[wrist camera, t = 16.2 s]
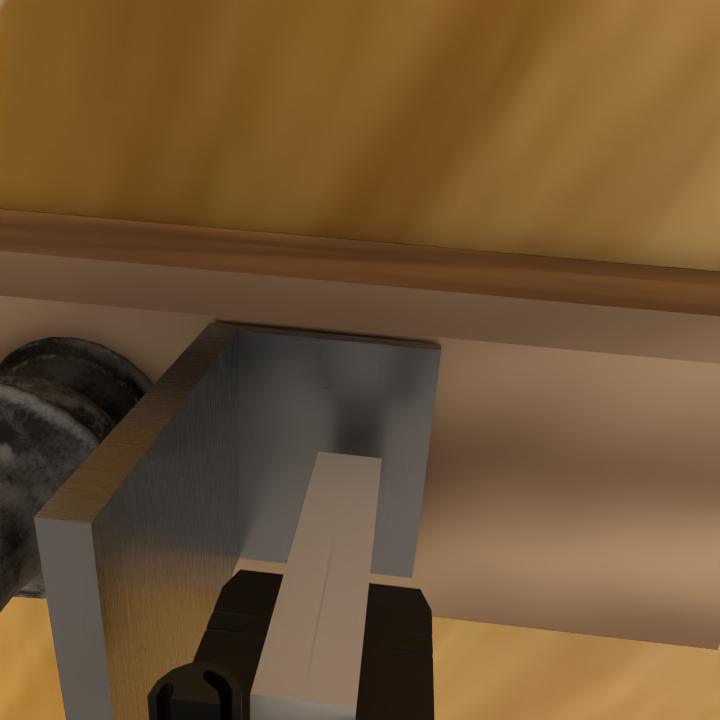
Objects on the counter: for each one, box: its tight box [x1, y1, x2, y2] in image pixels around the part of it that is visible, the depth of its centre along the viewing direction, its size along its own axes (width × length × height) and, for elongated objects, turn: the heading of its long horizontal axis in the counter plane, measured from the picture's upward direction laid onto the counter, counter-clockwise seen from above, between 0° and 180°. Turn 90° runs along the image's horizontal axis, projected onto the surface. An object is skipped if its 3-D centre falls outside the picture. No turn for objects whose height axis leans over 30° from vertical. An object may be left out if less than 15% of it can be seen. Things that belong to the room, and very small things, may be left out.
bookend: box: [34, 322, 441, 720], centre depth 14 cm, size 7×6×8 cm
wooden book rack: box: [0, 209, 720, 650], centre depth 13 cm, size 11×32×12 cm, turn 86°
